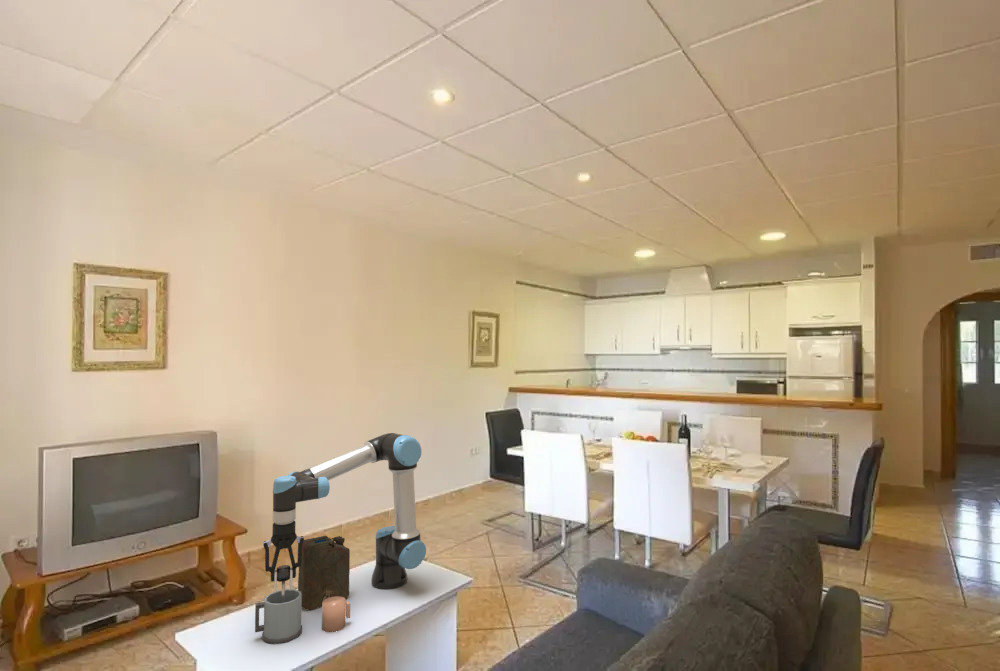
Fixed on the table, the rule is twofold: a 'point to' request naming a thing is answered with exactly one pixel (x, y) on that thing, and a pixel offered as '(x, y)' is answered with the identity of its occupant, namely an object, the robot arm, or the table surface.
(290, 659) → the table surface
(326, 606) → the peach mug
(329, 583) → the canister
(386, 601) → the table surface
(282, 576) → the plunger
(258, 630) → the faceted grey tankard
